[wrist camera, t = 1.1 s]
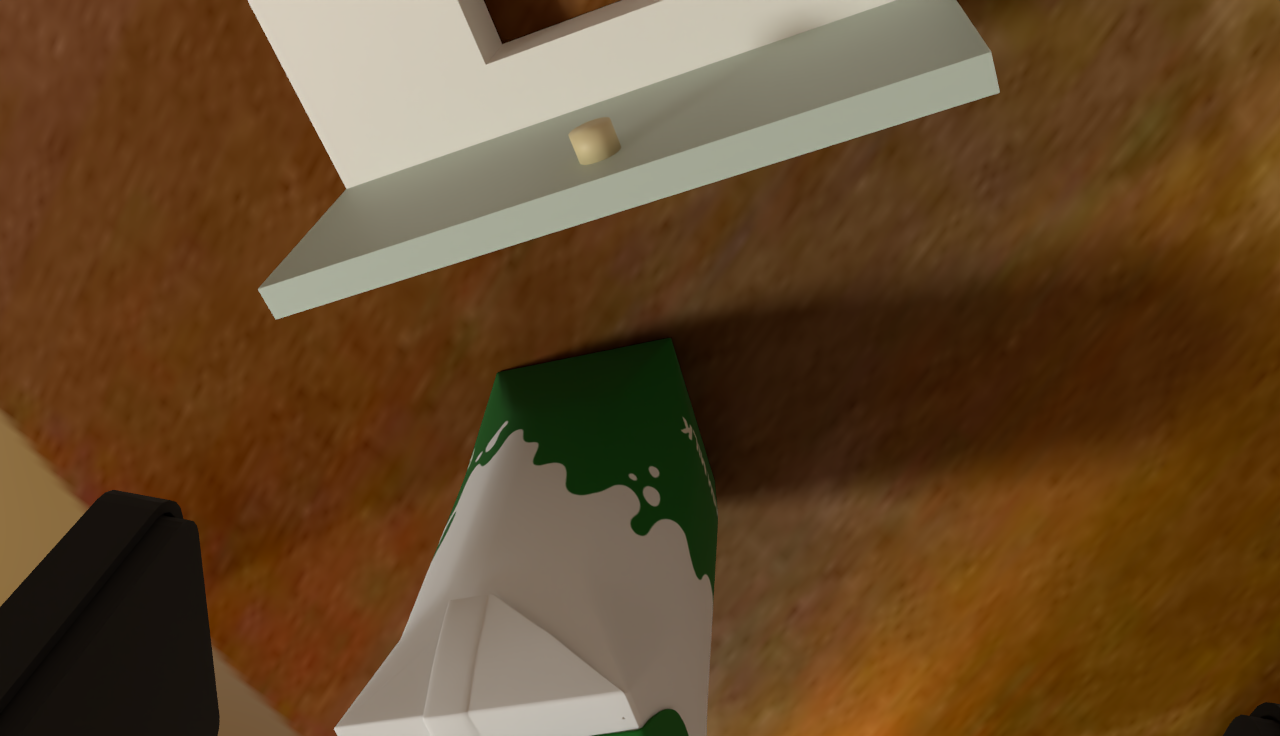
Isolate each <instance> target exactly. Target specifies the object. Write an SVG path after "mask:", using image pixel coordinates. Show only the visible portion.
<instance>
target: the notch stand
mask: <svg viewBox="0 0 1280 736" xmlns="http://www.w3.org/2000/svg"><path fill="white" fill-rule="evenodd" d="M248 2H249V4H250V6H251V8H252V10H253V11H254V13H255V15H256V17H257V19H258V21H259V23H260V25H261V27H262V29H263V31H264V32H265V34H266V36H267V38H268V40H269V42H270V44H271V46H272V48H273V50H274V51H275V53H276V55H277V57H278V59H279V61H280V63H281V65H282V67H283V69H284V71H285V72H286V74H287V76H288V78H289V80H290V82H291V84H292V86H293V88H294V90H295V92H296V93H297V95H298V97H299V99H300V101H301V103H302V105H303V107H304V109H305V111H306V112H307V114H308V116H309V118H310V120H311V122H312V124H313V126H314V128H315V130H316V132H317V133H318V135H319V137H320V139H321V141H322V143H323V145H324V147H325V149H326V151H327V153H328V154H329V156H330V158H331V160H332V162H333V164H334V166H335V168H336V170H337V172H338V173H339V175H340V177H341V179H342V181H343V183H344V185H345V187H346V190H345V191H344V192H343V194H342V195H341V196H340V197H339V198H338V199H337V200H336V201H335V203H334V204H333V205H332V206H331V207H330V208H329V209H328V211H327V212H326V213H325V214H324V215H323V216H322V217H321V218H320V220H319V221H318V222H317V223H316V224H315V225H314V226H313V227H312V229H311V230H310V231H309V232H308V233H307V234H306V235H305V236H304V238H303V239H302V240H301V241H300V242H299V243H298V244H297V245H296V247H295V248H294V249H293V250H292V251H291V252H290V253H289V255H288V256H287V257H286V258H285V259H284V260H283V261H282V262H281V264H280V265H279V266H278V267H277V268H276V269H275V270H274V271H273V273H272V274H271V275H270V276H269V277H268V278H267V279H266V280H265V282H264V283H263V284H262V285H261V286H260V287H259V288H258V290H259V292H260V294H261V296H262V297H263V299H264V301H265V302H266V304H267V306H268V307H269V309H270V311H271V312H272V314H273V316H274V317H275V319H279V318H282V317H286V316H289V315H292V314H295V313H298V312H302V311H305V310H308V309H311V308H314V307H318V306H321V305H324V304H327V303H330V302H333V301H337V300H340V299H343V298H346V297H349V296H353V295H356V294H359V293H362V292H365V291H369V290H372V289H375V288H378V287H381V286H384V285H388V284H391V283H394V282H397V281H400V280H404V279H407V278H410V277H413V276H416V275H420V274H423V273H426V272H429V271H432V270H436V269H439V268H442V267H445V266H448V265H451V264H455V263H458V262H461V261H464V260H467V259H471V258H474V257H477V256H480V255H483V254H487V253H490V252H493V251H496V250H499V249H502V248H506V247H509V246H512V245H515V244H518V243H522V242H525V241H528V240H531V239H534V238H538V237H541V236H544V235H547V234H550V233H554V232H557V231H560V230H563V229H566V228H569V227H573V226H576V225H579V224H582V223H585V222H589V221H592V220H595V219H598V218H601V217H605V216H608V215H611V214H614V213H617V212H621V211H624V210H627V209H630V208H633V207H636V206H640V205H643V204H646V203H649V202H652V201H656V200H659V199H662V198H665V197H668V196H672V195H675V194H678V193H681V192H684V191H687V190H691V189H694V188H697V187H700V186H703V185H707V184H710V183H713V182H716V181H719V180H723V179H726V178H729V177H732V176H735V175H739V174H742V173H745V172H748V171H751V170H754V169H758V168H761V167H764V166H767V165H770V164H774V163H777V162H780V161H783V160H786V159H790V158H793V157H796V156H799V155H802V154H805V153H809V152H812V151H815V150H818V149H821V148H825V147H828V146H831V145H834V144H837V143H841V142H844V141H847V140H850V139H853V138H857V137H860V136H863V135H866V134H869V133H872V132H876V131H879V130H882V129H885V128H888V127H892V126H895V125H898V124H901V123H904V122H908V121H911V120H914V119H917V118H920V117H923V116H927V115H930V114H933V113H936V112H939V111H943V110H946V109H949V108H952V107H955V106H959V105H962V104H965V103H968V102H971V101H975V100H978V99H981V98H984V97H987V96H990V95H994V94H997V93H1000V91H999V86H998V82H997V77H996V72H995V68H994V63H993V58H992V54H991V51H990V49H989V48H988V46H987V45H986V43H985V42H984V41H983V39H982V38H981V36H980V35H979V33H978V32H977V30H976V29H975V27H974V26H973V24H972V23H971V21H970V20H969V18H968V17H967V15H966V14H965V12H964V11H963V9H962V8H961V6H960V5H959V3H958V2H957V0H621V1H619V2H616V3H613V4H610V5H608V6H605V7H602V8H600V9H597V10H594V11H591V12H589V13H586V14H583V15H580V16H578V17H575V18H572V19H570V20H567V21H564V22H561V23H559V24H556V25H553V26H551V27H548V28H545V29H542V30H540V31H537V32H534V33H532V34H529V35H526V36H523V37H521V38H518V39H515V40H512V41H510V42H507V43H504V44H502V42H501V40H500V38H499V35H498V33H497V31H496V28H495V26H494V24H493V21H492V19H491V17H490V14H489V12H488V9H487V7H486V5H485V2H484V0H248Z"/></svg>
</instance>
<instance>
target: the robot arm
mask: <svg viewBox="0 0 1280 736" xmlns="http://www.w3.org/2000/svg"><path fill="white" fill-rule="evenodd" d="M218 730H219V709H218V700H217V691H216V682H215V673H214V665H213V656H212V647H211V638H210V629H209V621H208V612H207V603H206V594H205V586H204V577H203V568H202V559H201V550H200V542H199V533H198V529H197V525H196V524H195V523H194V521H190V520H185V519H183V516H182V512H181V508H180V507H179V505H178V504H177V503H176V502H174V501H171V500H166V499H160V498H155V497H149V496H144V495H138V494H133V493H127V492H122V491H117V490H112V491H109V492H106V493H104V494H103V495H102V496H101V497H100V498H98V499H97V500H96V501H95V502H94V504H93V505H92V506H91V507H90V508H89V509H88V510H87V511H86V512H85V514H84V515H83V516H82V517H81V518H80V519H79V520H78V521H77V523H76V524H75V525H74V526H73V527H72V528H71V529H70V530H69V531H68V533H66V535H65V536H64V537H63V538H62V539H61V540H60V541H59V542H58V543H57V545H56V546H55V547H54V548H53V549H52V550H51V551H50V553H48V555H47V556H46V557H45V558H44V559H43V560H42V561H41V562H40V563H39V565H38V566H37V567H36V568H35V569H34V570H33V571H32V573H30V575H29V576H28V577H27V578H26V579H25V580H24V581H23V582H22V583H21V585H20V586H19V587H18V588H17V589H16V590H15V591H14V592H13V594H12V595H11V596H10V597H9V598H8V599H7V600H6V601H5V602H4V603H3V604H2V606H1V607H0V736H217V735H218ZM1223 736H1280V704H1275V703H1267V702H1265V703H1263V704H1261V705H1259V706H1257V707H1256V709H1255V710H1254V711H1253V712H1252V713H1251V715H1250V716H1247V715H1240V716H1238V717H1236V718H1235V719H1234V720H1233V721H1232V722H1231V723H1230V725H1229V727H1228V728H1227V730H1226V732H1225V733H1224V735H1223Z"/></svg>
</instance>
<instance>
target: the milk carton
mask: <svg viewBox="0 0 1280 736" xmlns="http://www.w3.org/2000/svg"><path fill="white" fill-rule="evenodd" d="M717 528H718V509H717V499H716V489H715V480H714V477H713V474H712V471H711V467H710V464H709V461H708V457H707V454H706V451H705V448H704V444H703V441H702V438H701V434H700V431H699V428H698V425H697V421H696V418H695V415H694V412H693V408H692V405H691V402H690V398H689V395H688V392H687V389H686V385H685V382H684V379H683V375H682V372H681V369H680V366H679V362H678V359H677V356H676V353H675V349H674V346H673V343H672V340H671V338H666V339H661V340H656V341H651V342H646V343H641V344H636V345H631V346H626V347H622V348H617V349H612V350H607V351H602V352H597V353H592V354H587V355H582V356H577V357H572V358H567V359H562V360H557V361H552V362H547V363H542V364H537V365H532V366H527V367H522V368H517V369H512V370H507V371H502V372H498V373H497V375H496V378H495V382H494V385H493V388H492V391H491V394H490V398H489V401H488V404H487V407H486V411H485V414H484V417H483V420H482V424H481V427H480V430H479V433H478V437H477V440H476V443H475V446H474V450H473V453H472V456H471V460H470V463H469V466H468V469H467V472H466V475H465V478H464V481H463V484H462V486H461V489H460V491H459V494H458V496H457V499H456V501H455V504H454V506H453V509H452V512H451V514H450V517H449V519H448V522H447V524H446V527H445V529H444V532H443V534H442V537H441V539H440V542H439V544H438V547H437V550H436V552H435V555H434V557H433V560H432V562H431V565H430V567H429V570H428V572H427V575H426V577H425V580H424V582H423V585H422V587H421V590H420V592H419V595H418V597H417V600H416V602H415V605H414V607H413V610H412V612H411V615H410V618H409V620H408V623H407V625H406V627H405V630H404V632H403V635H402V637H401V639H400V641H399V642H398V644H397V645H396V646H395V648H394V649H393V650H392V652H391V653H390V654H389V656H388V657H387V658H386V660H385V661H384V662H383V664H382V665H381V667H380V668H379V669H378V671H377V672H376V673H375V675H374V676H373V677H372V679H371V680H370V681H369V683H368V684H367V685H366V687H365V688H364V689H363V691H362V692H361V693H360V695H359V696H358V697H357V699H356V700H355V701H354V703H353V704H352V705H351V707H350V708H349V709H348V711H347V712H346V713H345V715H344V716H343V717H342V719H341V720H340V721H339V723H338V724H337V725H336V727H335V728H334V729H335V732H336V733H337V735H338V736H707V703H708V684H709V667H710V649H711V632H712V615H713V598H714V581H715V564H716V547H717Z"/></svg>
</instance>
